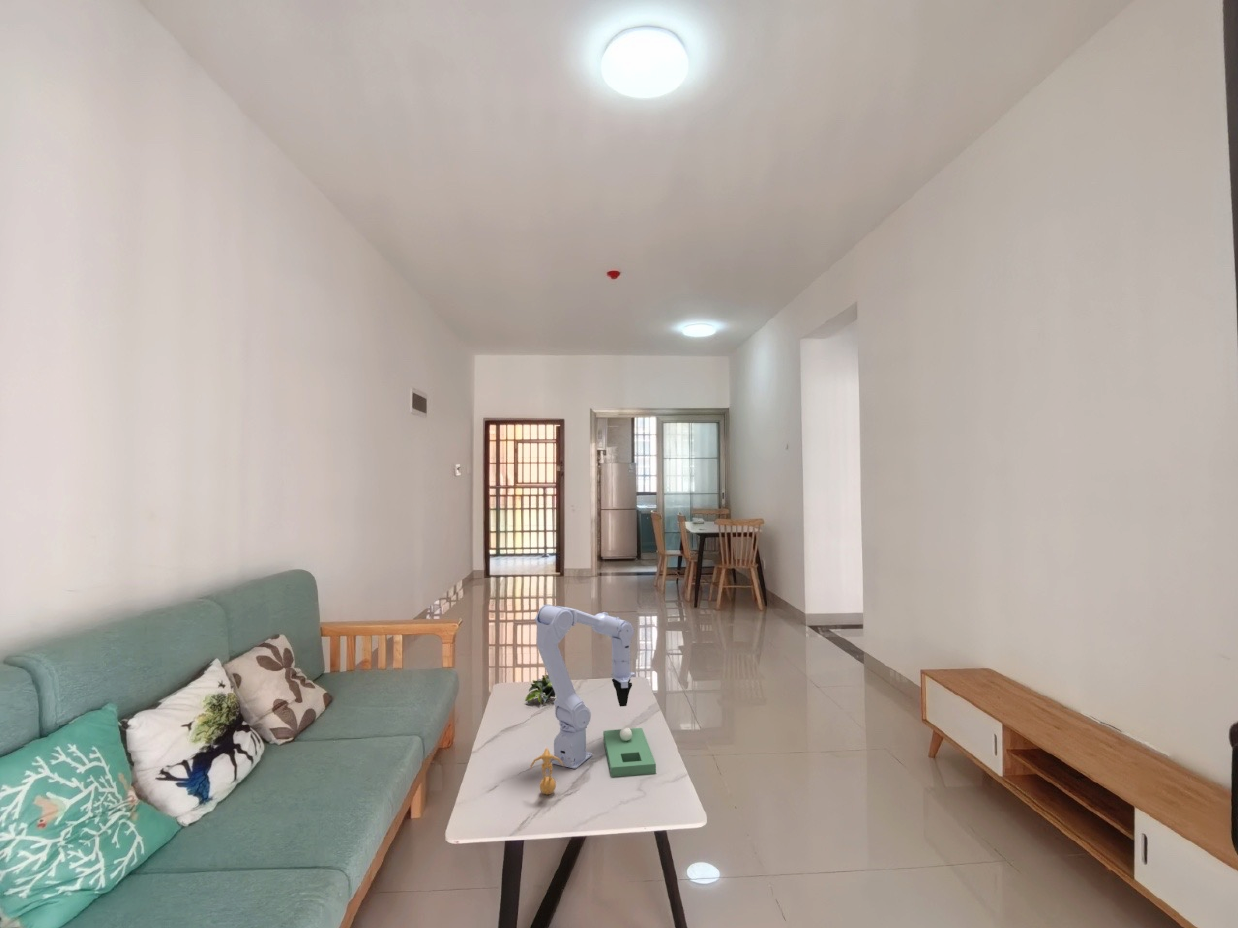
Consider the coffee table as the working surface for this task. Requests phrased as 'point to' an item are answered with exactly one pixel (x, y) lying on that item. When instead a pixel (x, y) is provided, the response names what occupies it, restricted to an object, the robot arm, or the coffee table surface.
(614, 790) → the coffee table surface
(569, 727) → the robot arm
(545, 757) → the figurine
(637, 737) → the putting mat
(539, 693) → the passion flower
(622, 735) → the ball
